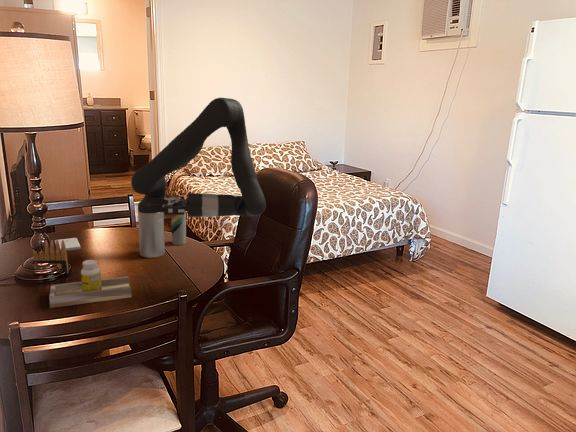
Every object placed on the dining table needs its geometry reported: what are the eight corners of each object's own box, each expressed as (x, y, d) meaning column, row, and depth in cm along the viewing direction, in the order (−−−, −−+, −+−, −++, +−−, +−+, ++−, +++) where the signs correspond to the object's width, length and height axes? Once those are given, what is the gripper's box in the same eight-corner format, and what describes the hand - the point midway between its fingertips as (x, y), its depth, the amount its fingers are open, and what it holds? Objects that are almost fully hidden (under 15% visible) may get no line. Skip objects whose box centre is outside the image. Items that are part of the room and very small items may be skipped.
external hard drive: (57, 253, 172) (54, 243, 182) (80, 250, 176) (77, 241, 187) (57, 249, 172) (54, 239, 182) (80, 246, 176) (76, 237, 186)
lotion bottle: (178, 240, 191) (177, 193, 186) (189, 242, 189) (188, 196, 183) (169, 243, 187) (167, 196, 181) (179, 246, 184) (178, 198, 179)
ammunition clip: (69, 272, 153) (66, 239, 150) (67, 274, 152) (64, 240, 148) (36, 273, 152) (32, 239, 149) (33, 275, 150) (29, 240, 147)
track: (52, 293, 137) (51, 284, 136) (128, 284, 146) (128, 275, 145) (50, 307, 128) (49, 298, 128) (131, 297, 137) (131, 288, 136)
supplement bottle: (79, 291, 137) (77, 261, 134) (97, 286, 141) (95, 257, 138) (86, 297, 133) (84, 266, 131) (104, 292, 137) (102, 262, 135)
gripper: (202, 188, 150) (151, 188, 146) (204, 199, 136) (148, 198, 133) (201, 210, 152) (151, 210, 148) (204, 222, 138) (148, 223, 135)
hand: (150, 205), depth 140 cm, fingers open, 8 cm apart
